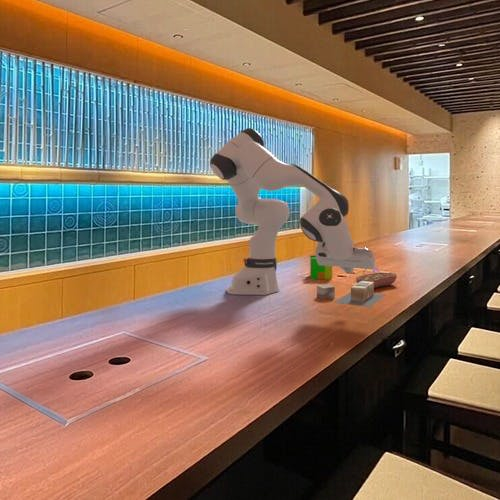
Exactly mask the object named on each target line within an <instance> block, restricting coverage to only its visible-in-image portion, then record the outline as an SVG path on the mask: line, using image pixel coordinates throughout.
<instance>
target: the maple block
mask: <svg viewBox="0 0 500 500" xmlns="http://www.w3.org/2000/svg"><path fill="white" fill-rule="evenodd" d="M374 290H375V288H374V282H368V281H361V282H359V283H357V282H356V283H355V284H354V285H352V286H351V287H350V292H351V300H355V301H365V300H366V299H368V298H369V297H370V296H372V295H373V294H375V291H374Z"/></svg>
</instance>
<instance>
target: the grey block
mask: <svg viewBox="0 0 500 500" xmlns="http://www.w3.org/2000/svg"><path fill="white" fill-rule="evenodd" d="M335 287H336V286H334V285H330V284H321V285H319V284H318V285H316V297H317V298H318V299H320V300H331V299H335V298H336V297H335V296H336V295H335V294H336V293H335V292H336V291H335V290H336V288H335Z"/></svg>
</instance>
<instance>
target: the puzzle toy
mask: <svg viewBox="0 0 500 500" xmlns="http://www.w3.org/2000/svg"><path fill="white" fill-rule="evenodd" d="M309 264H310V268H309V270H310V272H309V273H310V275H309V276H310V280H333V266H322V265H319V264H318V263H317V260H316V255H310V263H309Z"/></svg>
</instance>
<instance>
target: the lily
mask: <svg viewBox="0 0 500 500" xmlns="http://www.w3.org/2000/svg"><path fill="white" fill-rule="evenodd" d="M366 270H367V269H364V271H363V272H362V274H364V273H365V272H366ZM371 271H372V274H374V273H376V272H377V273H381V271H380V269H379V268H378V267H377V263H375V265H374V267H373V268H372V269H371Z"/></svg>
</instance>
